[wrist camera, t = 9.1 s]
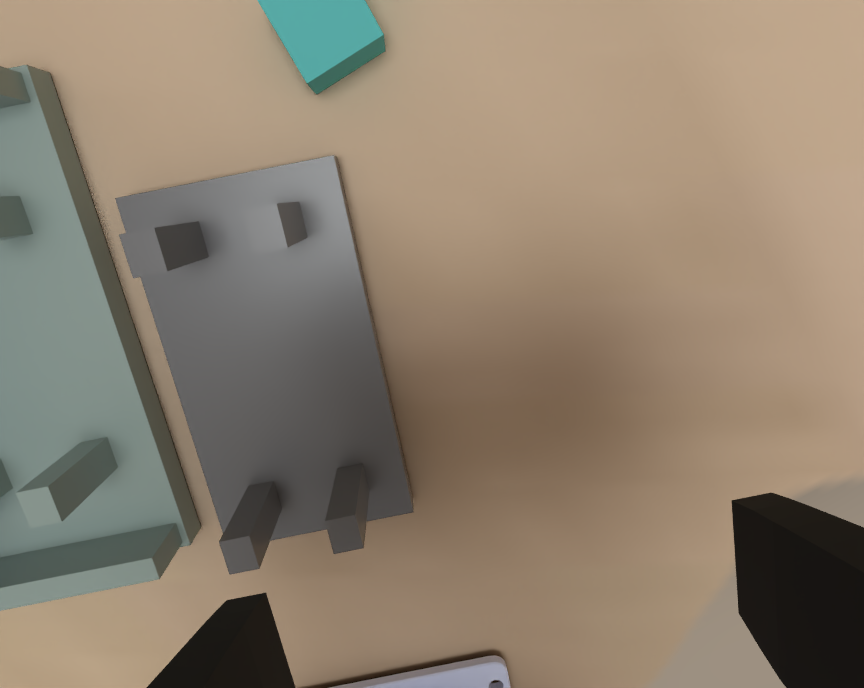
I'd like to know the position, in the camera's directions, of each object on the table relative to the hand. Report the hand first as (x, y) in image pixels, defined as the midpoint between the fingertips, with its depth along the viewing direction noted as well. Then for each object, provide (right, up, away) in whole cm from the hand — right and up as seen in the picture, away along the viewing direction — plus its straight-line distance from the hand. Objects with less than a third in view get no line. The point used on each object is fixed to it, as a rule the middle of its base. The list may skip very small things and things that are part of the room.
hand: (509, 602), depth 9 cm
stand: (-6, +3, +9) cm, 11 cm away
